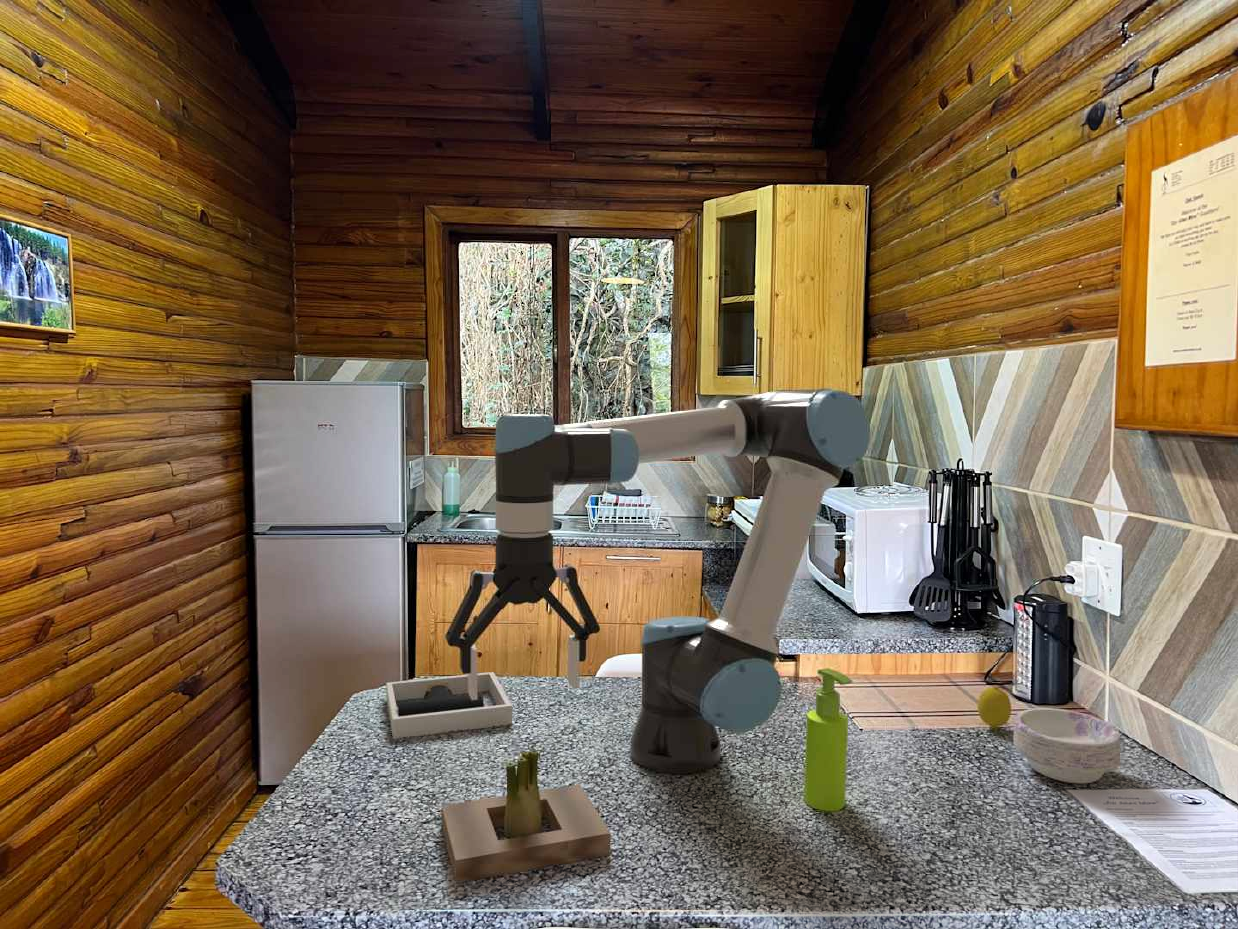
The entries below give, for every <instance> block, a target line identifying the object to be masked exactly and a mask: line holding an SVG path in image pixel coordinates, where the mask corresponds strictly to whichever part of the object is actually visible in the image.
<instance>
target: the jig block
mask: <svg viewBox="0 0 1238 929" xmlns="http://www.w3.org/2000/svg"><path fill="white" fill-rule="evenodd" d="M539 794H540V803H541V821H543V820H546V821H547V824H548V825H549V828H550V829H551V830H550V831H547V832H546V831H545V832H542V833H539V834H534V835H528V836H522V837H516V838H510V839H506V838H505V839H499V840H498V836H497V834H496V833H497V832H496V831H495V828H504V818H505V810H506V800H507V794H506V795H500V796H494V797H487V798H481V799H474V800H468V801H461V802H455V803H448V804H442V805H441V829H443V830H442V833H443V838H444V837H445V838H444V842H445V841H446V842H445V846H446V850H447V853H448V857H449V863H450V865H451V866H452V867H451V866H450V867H451V869H452V875H453V877H454V878H453V879H454V882H455V884H462V883H467V882H473V881H477V880H481V879H488V878H493V877H498V876H499V877H500V876H504V874H505V875H510V874H515V873H521V872H526V871H530V870H536V869H543V868H549V867H553V866H559V865H562V864H569V863H575V862H580V861H586V860H590V859H597V858H601V857H607V856H611V832H610V829H609V827H607V825H606V823H605V821H604V820H603V819H602V817H601V815H600V814H599V812H598V811H597V809H596V807H595V806H594V804H593V803H592V801H591V800H590V798H589V796H588V794H587V793H586V792H585V790H584V788H583V786H582V785H581V784H579V783H578V784H574V785H566V786H560V787H559V786H558V787H553V788H545V789H540V790H539Z"/></svg>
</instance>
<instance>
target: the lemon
mask: <svg viewBox="0 0 1238 929" xmlns="http://www.w3.org/2000/svg"><path fill="white" fill-rule="evenodd" d="M977 712H978V716H979V718H980V719H981V721H983V722H984V723H985V725H988V726H989V727H990V728H991V729H993V730H995V729H997V728H999V727H1001V726H1004V725H1005V724H1007V723H1008V722H1009V720H1010V717H1011V714H1012V704H1011V700H1010V698H1009V695H1008V694H1007V693H1006V692H1005V691H1004V690H1003V689H1002V688H999V687H998V686H997V685H996V686H995V685H994V686H992V687H987V688H986V689H984V690H983V691H982V692H981V693H980V695H979V697H978V702H977Z"/></svg>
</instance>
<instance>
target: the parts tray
mask: <svg viewBox="0 0 1238 929" xmlns="http://www.w3.org/2000/svg"><path fill="white" fill-rule="evenodd" d="M444 683H448V684H449V688H450V689H451V691H452V695H453V696H455V695H463V694H464V695H466V694H469V693H468V674H461V675H460V674H459V675H450V676H440V677H431V678H419V679H410V680H399V681H390V682H389V681H388V682H386V684H385V685H386V704H387V710H388V717H389V722H390V729H391V734H392V740H397V739H404V738H403V737H406V738H411V737H410V736H414V737H421V736H428V735H429V734H430V735H437V734H436V733H438V734H443V733H442V732H446V733H450V732H449V731H454V732H458V731H457V730H462V731H468V729H469V731H470V730H477V729H485V728H494V727H493V726H495V727H501V726H500V725H503V726H508V725H507V724H511V725H513V704H512V702H511V701H510V699H509V698H508V695H507V694H506V692H505V690H504V688H503V687H502V685H501V683H500V681H499V680H498V678H497V676H496V674H495V672H494V671H491V672H481V673H478V672H477V693H481V692H489V694H490V695H491V697H492V699H493V702H494V703H495V705H489V706H484V707H478V708H470V709H461V710H452V711H444V712H435V713H426V714H417V715H409V716H400V717H398V706H397V702H401V701H407V700H408V701H410V700H417V699H424V695H425V692H426V691H427V685H433V684H434V685H435V684H444ZM409 699H410V700H409ZM430 735H429V736H430Z"/></svg>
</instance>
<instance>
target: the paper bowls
mask: <svg viewBox="0 0 1238 929" xmlns="http://www.w3.org/2000/svg"><path fill="white" fill-rule="evenodd" d="M1012 739H1013V747H1014V749H1015V751H1017V752H1018V753H1019V754H1020V755H1022V756H1023V757H1024V758H1026V760H1027V762H1028V764H1029V765H1030V767H1031V768H1032V769H1033V770H1034V771H1036V772H1037V773H1038V774H1041V775H1043V776H1045V777H1047V778H1050V779H1052V780H1056V781H1060V782H1064V783H1070V784H1089V783H1094V782H1096V781H1098V780H1100V779H1101V778H1102V777H1103V775H1104V774H1105V773H1109V772H1112V771H1113V772H1114V771H1115V770H1116V769H1118V768H1119V766H1120V761H1121V753H1122V752H1121V751H1122V748H1121V744H1122V735H1121V733H1120V731H1119V730H1118V729H1117V728H1116V727H1115V726H1114V725H1112V724H1110V723H1109V722H1107V721H1105V720H1103V719H1101V718H1098V717H1095V716H1093V715H1090V714H1087V713H1082V712H1079V711H1073V710H1068V709H1061V708H1050V707H1049V708H1048V707H1042V708H1041V707H1037V708H1028V709H1025V710H1022V711H1020V712H1017V714H1015V716H1014V719H1013V738H1012Z"/></svg>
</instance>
